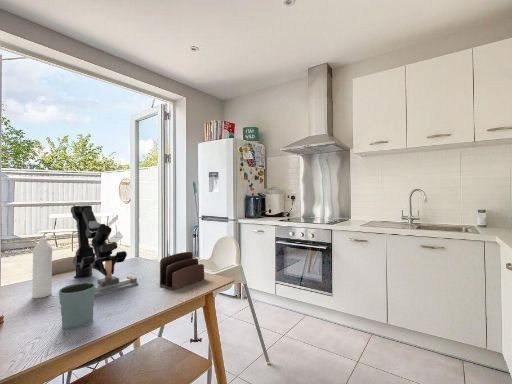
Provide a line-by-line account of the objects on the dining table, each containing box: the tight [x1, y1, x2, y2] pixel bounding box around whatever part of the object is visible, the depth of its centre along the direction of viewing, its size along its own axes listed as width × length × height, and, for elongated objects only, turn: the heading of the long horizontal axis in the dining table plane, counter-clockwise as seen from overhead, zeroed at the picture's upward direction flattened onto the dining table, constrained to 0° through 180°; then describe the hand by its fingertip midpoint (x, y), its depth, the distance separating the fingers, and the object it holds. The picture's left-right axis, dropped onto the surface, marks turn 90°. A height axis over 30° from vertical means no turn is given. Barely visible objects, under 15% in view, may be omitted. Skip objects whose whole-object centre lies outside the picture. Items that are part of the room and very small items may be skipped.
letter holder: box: [159, 251, 205, 291], centre depth 128 cm, size 10×20×14 cm, turn 145°
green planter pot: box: [58, 282, 96, 330], centre depth 87 cm, size 10×10×12 cm
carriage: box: [97, 261, 120, 287], centre depth 119 cm, size 7×6×10 cm
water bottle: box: [31, 235, 53, 299], centre depth 113 cm, size 9×6×25 cm
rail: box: [94, 275, 139, 298], centre depth 118 cm, size 26×9×3 cm, turn 140°
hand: (109, 274), depth 118 cm, fingers closed on carriage, 3 cm apart
